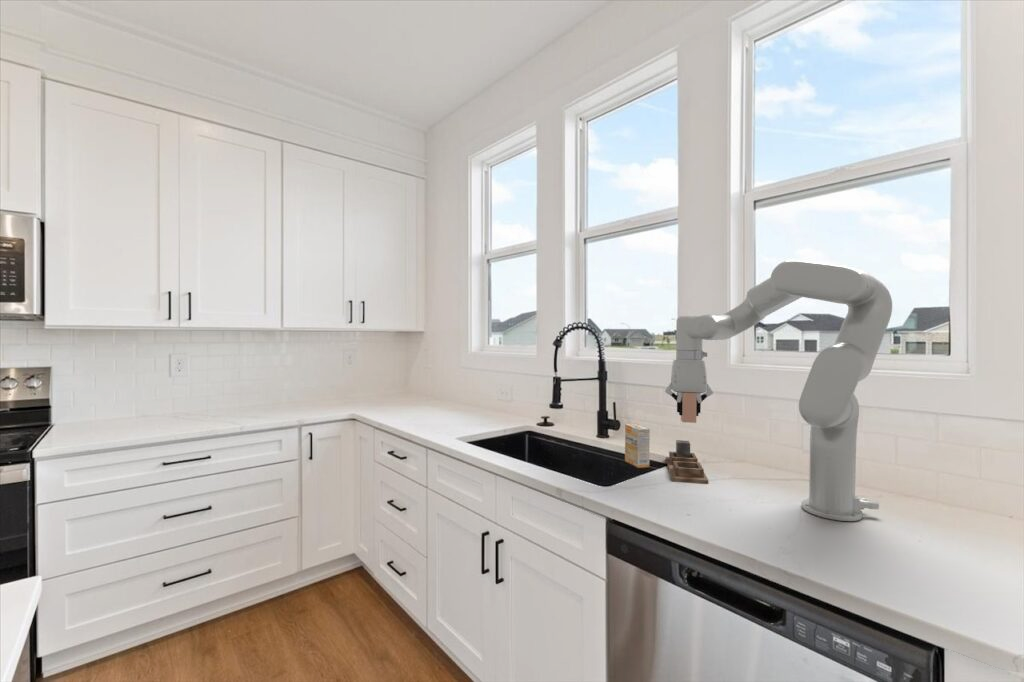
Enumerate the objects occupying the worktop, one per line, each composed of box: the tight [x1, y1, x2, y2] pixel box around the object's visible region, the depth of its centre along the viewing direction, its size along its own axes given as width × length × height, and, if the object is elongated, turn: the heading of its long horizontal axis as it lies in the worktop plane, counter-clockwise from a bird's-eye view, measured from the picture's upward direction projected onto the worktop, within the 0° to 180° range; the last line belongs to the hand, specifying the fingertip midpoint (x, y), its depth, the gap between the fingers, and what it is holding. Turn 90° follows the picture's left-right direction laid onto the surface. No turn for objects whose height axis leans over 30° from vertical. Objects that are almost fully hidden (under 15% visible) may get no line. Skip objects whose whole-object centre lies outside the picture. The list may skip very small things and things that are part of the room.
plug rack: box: [665, 439, 709, 485], centre depth 151 cm, size 10×24×8 cm, turn 167°
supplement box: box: [624, 423, 651, 469], centre depth 158 cm, size 8×5×13 cm, turn 17°
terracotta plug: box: [680, 393, 697, 424], centre depth 145 cm, size 4×4×9 cm
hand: (688, 414), depth 145 cm, fingers closed on terracotta plug, 4 cm apart
